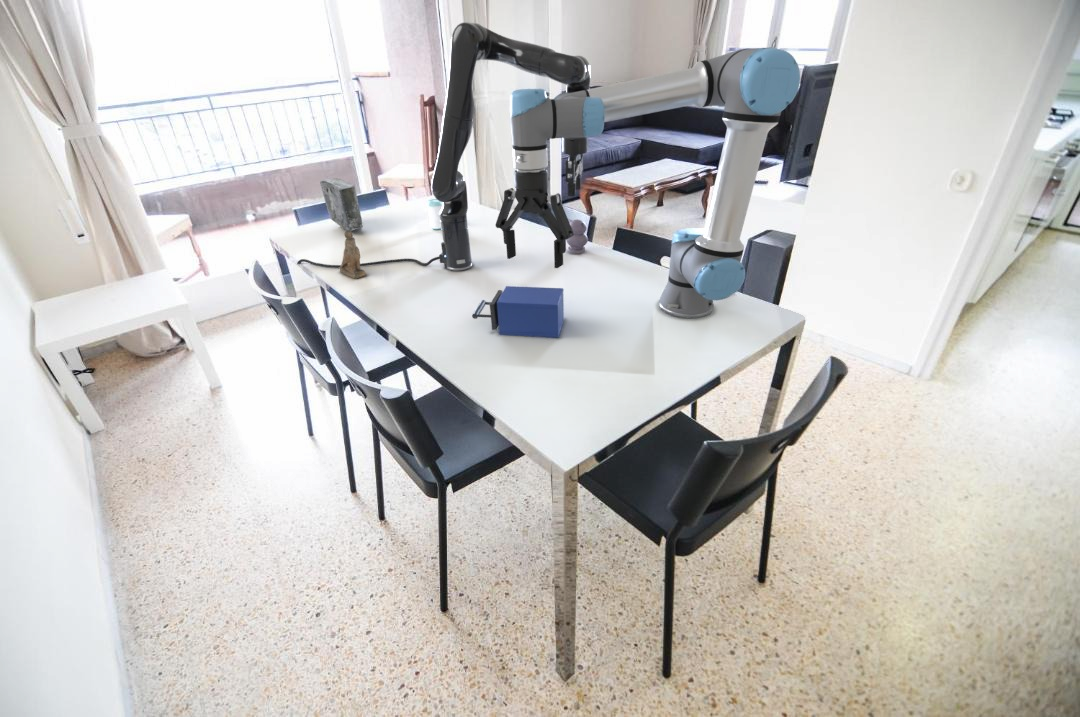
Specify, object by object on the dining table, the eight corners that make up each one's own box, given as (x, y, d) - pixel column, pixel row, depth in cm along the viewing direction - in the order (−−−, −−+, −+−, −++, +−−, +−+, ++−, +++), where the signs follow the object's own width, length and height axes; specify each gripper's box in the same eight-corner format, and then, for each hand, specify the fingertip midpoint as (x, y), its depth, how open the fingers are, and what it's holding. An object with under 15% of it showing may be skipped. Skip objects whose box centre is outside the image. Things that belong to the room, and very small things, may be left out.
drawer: (473, 328, 137) (470, 303, 133) (482, 313, 145) (479, 289, 141) (545, 332, 134) (544, 306, 130) (550, 316, 142) (550, 292, 138)
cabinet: (499, 334, 136) (496, 302, 131) (508, 316, 145) (506, 285, 140) (558, 337, 133) (557, 304, 128) (563, 319, 142) (563, 288, 137)
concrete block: (368, 232, 220) (358, 186, 209) (348, 237, 216) (336, 189, 205) (349, 220, 239) (338, 176, 228) (330, 223, 234) (319, 179, 224)
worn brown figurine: (368, 281, 178) (362, 235, 166) (353, 285, 175) (347, 238, 163) (352, 266, 184) (346, 221, 172) (338, 270, 181) (331, 224, 169)
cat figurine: (592, 250, 190) (592, 219, 184) (579, 256, 185) (579, 224, 179) (574, 246, 195) (575, 215, 189) (561, 251, 191) (561, 220, 184)
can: (445, 229, 220) (441, 202, 214) (429, 230, 220) (425, 202, 214) (447, 224, 226) (444, 198, 220) (432, 225, 226) (428, 198, 220)
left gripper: (567, 132, 152) (567, 187, 160) (556, 139, 140) (557, 198, 148) (591, 132, 150) (590, 187, 158) (582, 139, 138) (582, 198, 147)
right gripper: (475, 168, 112) (484, 258, 123) (572, 177, 100) (572, 276, 111) (495, 162, 117) (502, 249, 128) (589, 170, 105) (587, 265, 116)
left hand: (574, 192), depth 153 cm, fingers open, 8 cm apart
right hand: (534, 261), depth 120 cm, fingers open, 13 cm apart
